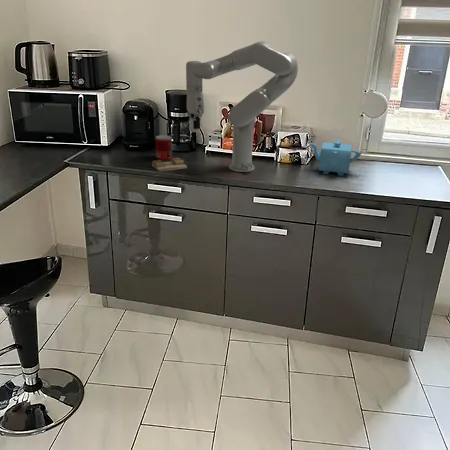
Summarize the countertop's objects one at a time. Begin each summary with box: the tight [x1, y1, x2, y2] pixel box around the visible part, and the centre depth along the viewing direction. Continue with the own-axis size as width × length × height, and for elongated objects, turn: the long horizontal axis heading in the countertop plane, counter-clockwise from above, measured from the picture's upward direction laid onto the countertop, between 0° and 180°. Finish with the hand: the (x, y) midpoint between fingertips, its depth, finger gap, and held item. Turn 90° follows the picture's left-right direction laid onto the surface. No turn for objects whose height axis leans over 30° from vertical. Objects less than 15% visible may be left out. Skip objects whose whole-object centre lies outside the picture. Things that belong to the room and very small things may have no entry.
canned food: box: [155, 134, 173, 161], centre depth 245 cm, size 8×8×11 cm
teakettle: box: [308, 139, 362, 177], centre depth 234 cm, size 19×19×15 cm
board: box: [151, 157, 188, 173], centre depth 235 cm, size 10×14×2 cm
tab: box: [188, 117, 201, 133], centre depth 235 cm, size 4×4×7 cm
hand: (194, 127), depth 236 cm, fingers closed on tab, 3 cm apart
